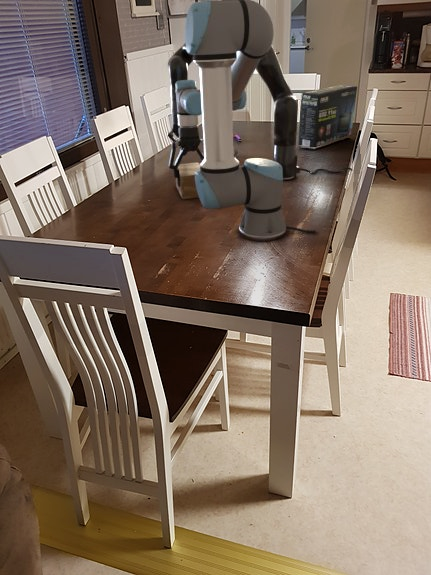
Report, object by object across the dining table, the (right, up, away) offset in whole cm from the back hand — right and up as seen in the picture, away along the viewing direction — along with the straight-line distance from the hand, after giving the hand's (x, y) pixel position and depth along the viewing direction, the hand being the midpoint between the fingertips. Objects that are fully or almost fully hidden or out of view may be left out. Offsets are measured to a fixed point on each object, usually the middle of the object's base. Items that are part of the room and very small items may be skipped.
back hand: (183, 155), depth 192 cm
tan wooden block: (+3, -16, -5) cm, 17 cm away
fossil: (+15, +8, +34) cm, 37 cm away
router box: (+72, +22, +53) cm, 92 cm away
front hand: (+4, -15, -10) cm, 18 cm away
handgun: (+23, +29, +69) cm, 78 cm away
